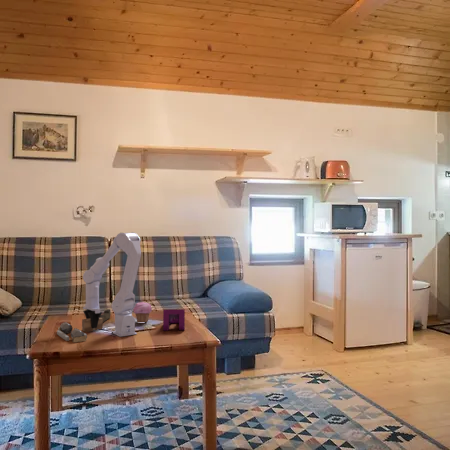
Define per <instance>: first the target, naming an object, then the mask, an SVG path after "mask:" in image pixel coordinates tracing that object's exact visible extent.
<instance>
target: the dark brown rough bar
mask: <svg viewBox="0 0 450 450" xmlns="http://www.w3.org/2000/svg"><path fill="white" fill-rule="evenodd" d="M100 318H102V319H103V323H105V322H106V321H107V320H110V319H111V309H109V308H108V309H106V310H104V312H103V313H102V314H101V316H100Z"/></svg>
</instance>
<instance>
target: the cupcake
mask: <svg viewBox="0 0 450 450" xmlns="http://www.w3.org/2000/svg"><path fill="white" fill-rule="evenodd" d="M152 310H153V309H152V305H151V303H150V302H149V303H148V302H143V301H140V302H137V303H135V307H134V308H133V309H132V312H134V314H135V318H136V322H146V323H148V322H149V316H150V313H152Z"/></svg>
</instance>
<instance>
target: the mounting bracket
mask: <svg viewBox="0 0 450 450" xmlns="http://www.w3.org/2000/svg"><path fill="white" fill-rule="evenodd" d="M185 316H186V315H185V309H182V308H181V309H179V308H178V309H163V315H162V319H163V320H162V324H163V325H162V330H163V331H164V332H166V331H170V325H171V324H178V330H179V331H185V328H186V327H185V324H186V323H185V321H186V319H185V318H186V317H185Z"/></svg>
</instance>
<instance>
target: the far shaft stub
mask: <svg viewBox="0 0 450 450" xmlns="http://www.w3.org/2000/svg"><path fill="white" fill-rule="evenodd" d="M57 328H58V329H57V331H59V330H60V331H62V332H63V333H64V334H66V335H67V334H71V332H72V331H73V330H74V328H73V325H72V324H70V323H68V322H67V321H64V322H62V323H61V324H60V326H57Z"/></svg>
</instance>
